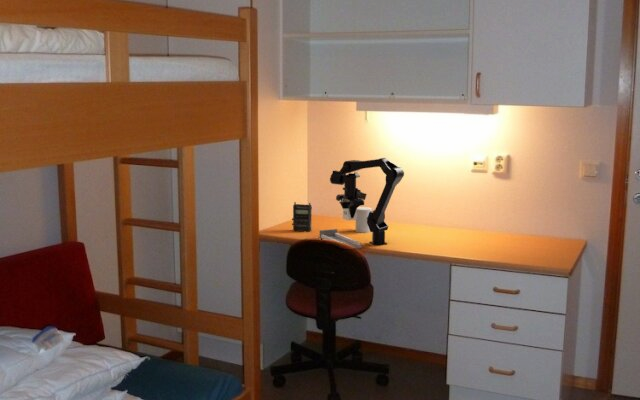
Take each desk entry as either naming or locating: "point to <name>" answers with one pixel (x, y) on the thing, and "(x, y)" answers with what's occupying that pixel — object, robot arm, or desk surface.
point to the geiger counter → (301, 217)
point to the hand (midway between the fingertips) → (349, 217)
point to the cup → (362, 219)
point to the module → (348, 215)
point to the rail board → (338, 238)
